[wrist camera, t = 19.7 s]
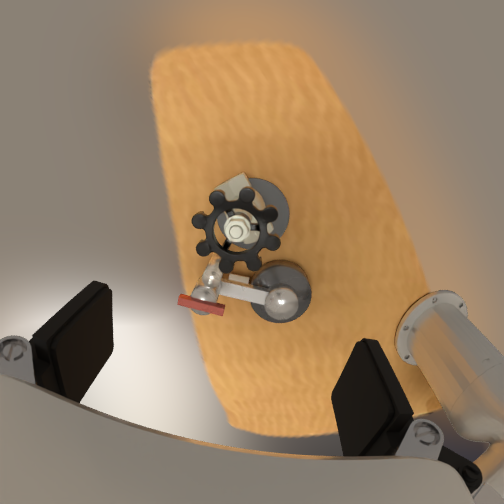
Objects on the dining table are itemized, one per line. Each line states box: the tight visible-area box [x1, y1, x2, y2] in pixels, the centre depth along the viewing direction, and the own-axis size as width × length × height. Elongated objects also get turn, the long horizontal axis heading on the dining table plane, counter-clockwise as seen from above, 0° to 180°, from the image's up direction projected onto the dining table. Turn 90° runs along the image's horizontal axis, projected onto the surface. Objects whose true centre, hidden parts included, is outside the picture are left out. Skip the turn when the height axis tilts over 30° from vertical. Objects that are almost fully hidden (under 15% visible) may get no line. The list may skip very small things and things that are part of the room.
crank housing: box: [202, 252, 311, 323], centre depth 33 cm, size 12×7×7 cm, turn 78°
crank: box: [178, 276, 298, 320], centre depth 31 cm, size 12×4×6 cm, turn 76°
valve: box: [192, 172, 281, 274], centre depth 27 cm, size 7×7×12 cm
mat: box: [217, 178, 289, 249], centre depth 33 cm, size 8×8×1 cm
